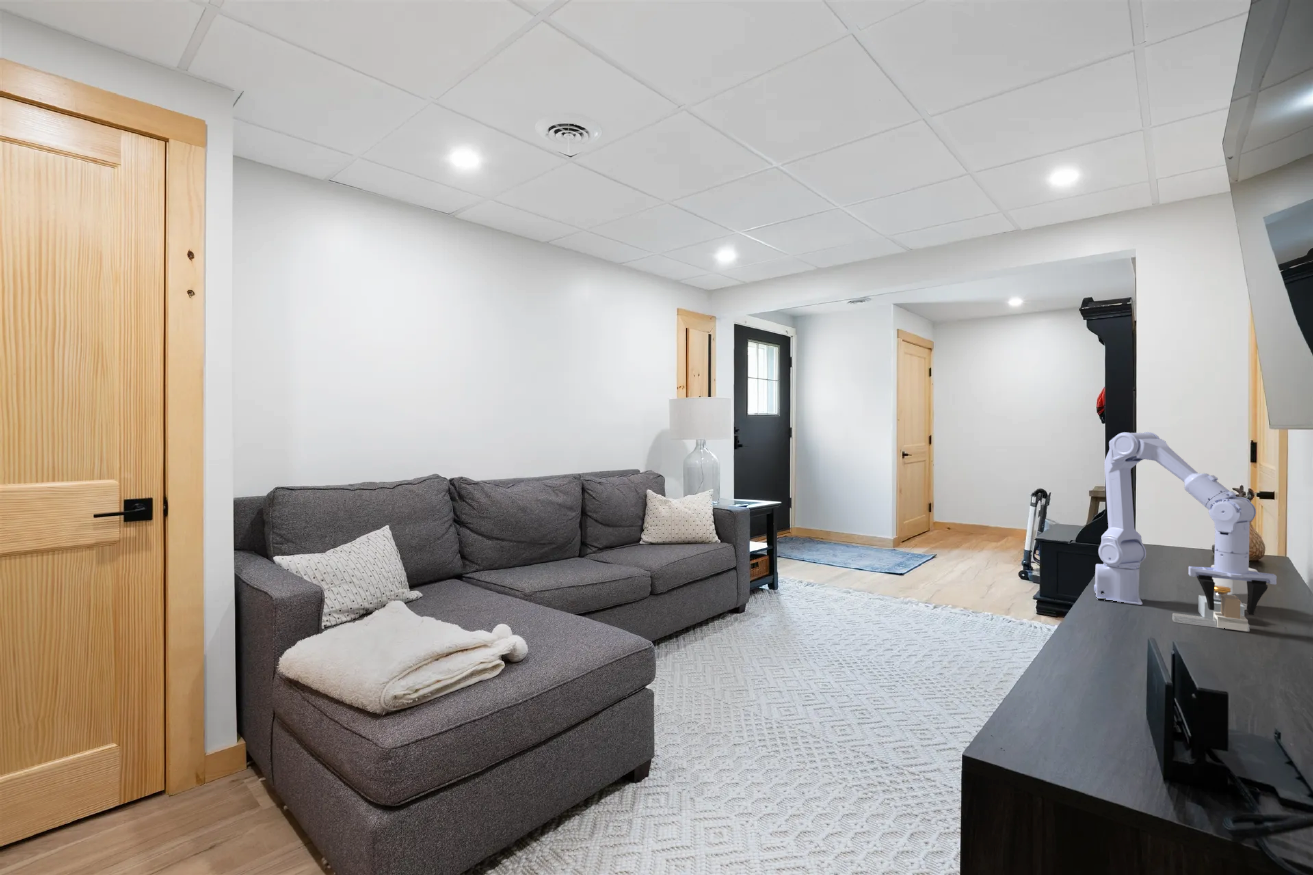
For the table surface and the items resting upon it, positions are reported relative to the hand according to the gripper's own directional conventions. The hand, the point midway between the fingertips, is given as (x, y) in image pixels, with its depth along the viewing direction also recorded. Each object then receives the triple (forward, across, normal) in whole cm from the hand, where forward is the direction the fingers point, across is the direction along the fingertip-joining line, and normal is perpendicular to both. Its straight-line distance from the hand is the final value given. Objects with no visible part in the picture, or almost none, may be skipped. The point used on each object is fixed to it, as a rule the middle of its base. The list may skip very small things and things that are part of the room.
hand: (1230, 611), depth 141 cm
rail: (+4, -4, 0) cm, 5 cm away
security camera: (+4, +4, +22) cm, 23 cm away
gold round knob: (+1, 0, +9) cm, 9 cm away
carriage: (+4, 0, 0) cm, 4 cm away
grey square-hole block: (+4, 0, +9) cm, 10 cm away
